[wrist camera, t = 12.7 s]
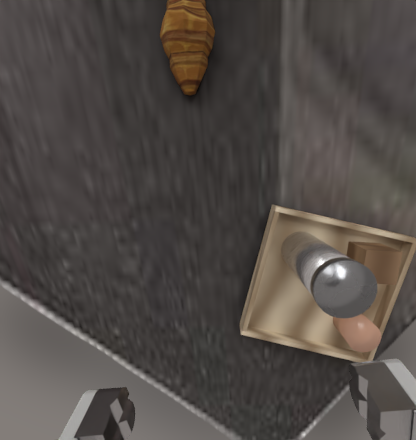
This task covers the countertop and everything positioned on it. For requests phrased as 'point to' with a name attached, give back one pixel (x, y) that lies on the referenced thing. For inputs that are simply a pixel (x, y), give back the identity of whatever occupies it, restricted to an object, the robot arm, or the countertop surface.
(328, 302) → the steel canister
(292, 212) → the wooden tray
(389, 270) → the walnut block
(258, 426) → the countertop surface
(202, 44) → the croissant
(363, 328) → the pink rounded peg
